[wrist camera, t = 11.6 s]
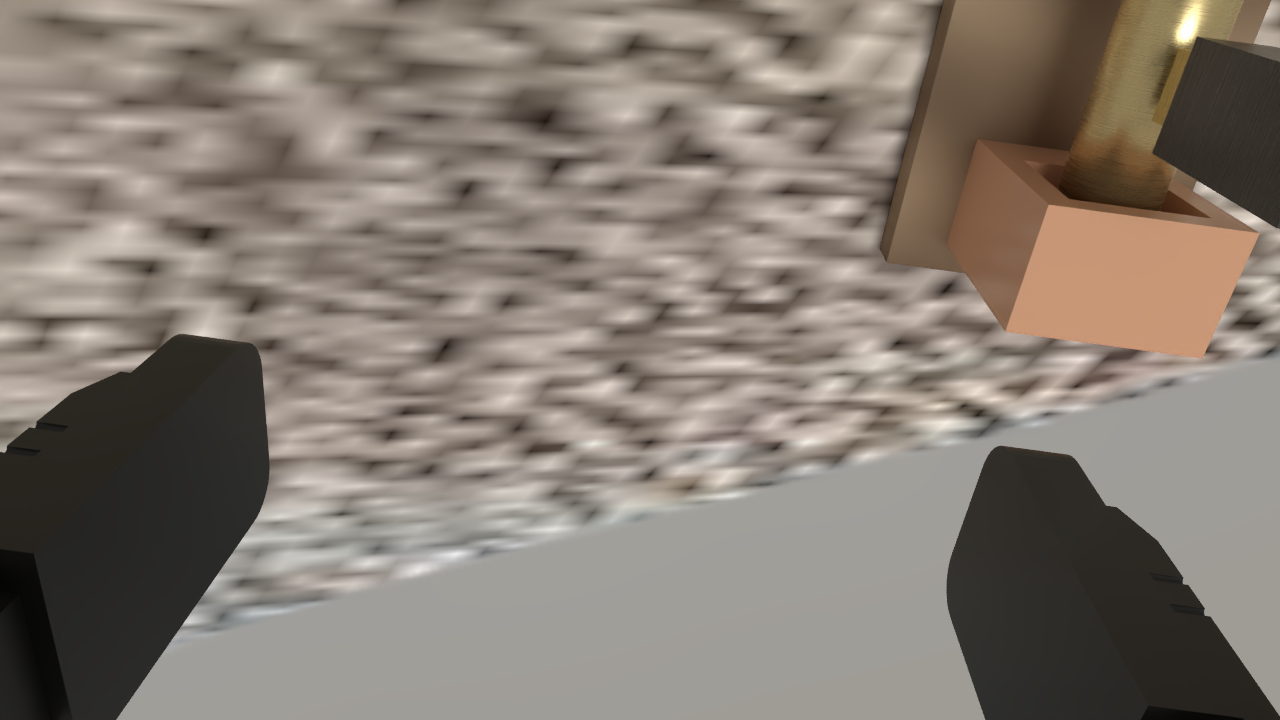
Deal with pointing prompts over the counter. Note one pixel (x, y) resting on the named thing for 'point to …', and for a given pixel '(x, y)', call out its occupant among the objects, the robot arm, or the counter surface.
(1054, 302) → the socket block
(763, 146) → the counter surface
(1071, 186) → the gold and grey t-piece
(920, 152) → the sleeve stand
